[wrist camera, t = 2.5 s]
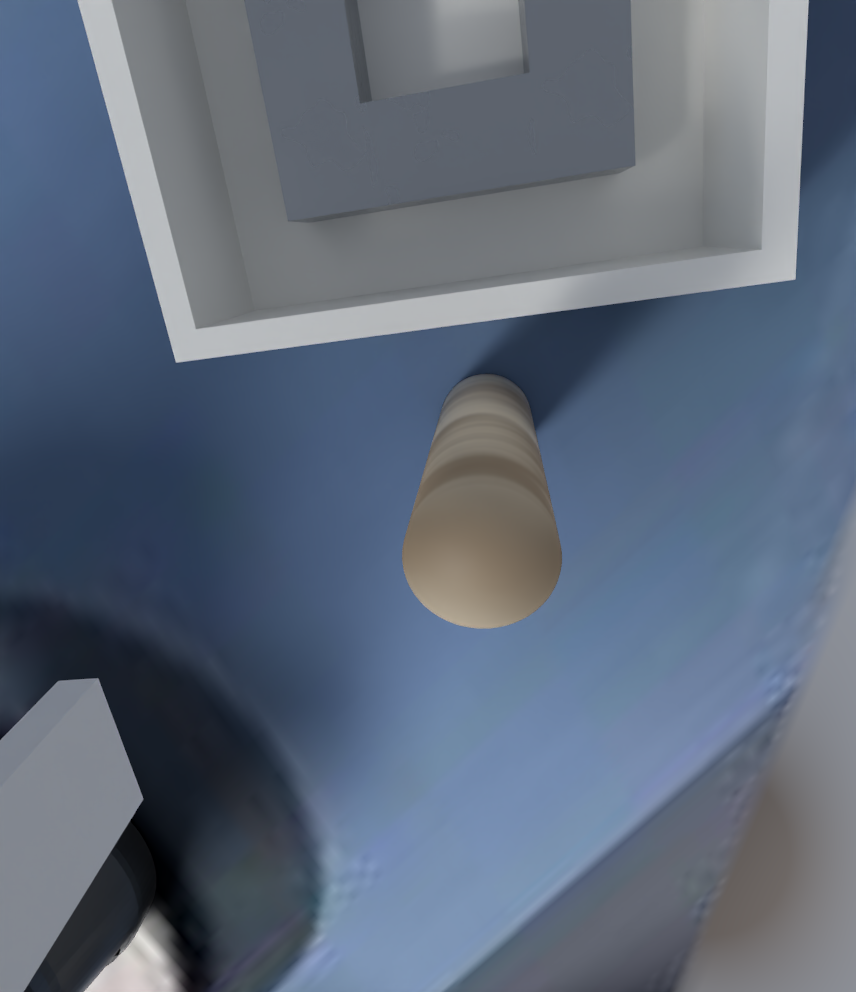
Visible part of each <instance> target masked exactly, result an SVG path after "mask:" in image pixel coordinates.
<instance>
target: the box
mask: <svg viewBox="0 0 856 992" xmlns="http://www.w3.org/2000/svg"><path fill="white" fill-rule="evenodd" d="M78 3H79V7H80V11H81V15H82V18H83V22H84V26H85V29H86V33H87V37H88V40H89V44H90V48H91V51H92V55H93V59H94V62H95V66H96V70H97V74H98V77H99V81H100V85H101V88H102V92H103V96H104V99H105V103H106V107H107V110H108V114H109V118H110V121H111V125H112V129H113V132H114V136H115V140H116V144H117V147H118V151H119V155H120V158H121V162H122V166H123V169H124V173H125V177H126V180H127V184H128V188H129V191H130V195H131V199H132V202H133V206H134V210H135V214H136V217H137V221H138V225H139V228H140V232H141V236H142V239H143V243H144V247H145V250H146V254H147V258H148V261H149V265H150V269H151V272H152V276H153V280H154V284H155V287H156V291H157V295H158V298H159V302H160V306H161V309H162V313H163V317H164V320H165V324H166V328H167V331H168V335H169V339H170V342H171V346H172V350H173V354H174V357H175V361H176V363H178V362H185V361H193V360H200V359H208V358H215V357H223V356H230V355H237V354H245V353H252V352H260V351H267V350H275V349H282V348H289V347H297V346H304V345H312V344H319V343H327V342H334V341H342V340H349V339H356V338H364V337H371V336H379V335H386V334H394V333H401V332H409V331H416V330H423V329H431V328H438V327H446V326H453V325H461V324H468V323H476V322H483V321H490V320H498V319H505V318H513V317H520V316H528V315H535V314H542V313H550V312H557V311H565V310H572V309H580V308H587V307H595V306H602V305H609V304H617V303H624V302H632V301H639V300H647V299H654V298H662V297H669V296H676V295H684V294H691V293H699V292H706V291H714V290H721V289H729V288H736V287H743V286H751V285H758V284H766V283H773V282H781V281H788V280H795V278H796V257H797V236H798V215H799V194H800V173H801V152H802V131H803V110H804V89H805V68H806V47H807V26H808V5H809V0H631V33H632V67H633V100H634V133H635V166H634V167H632V168H629V169H627V170H625V171H623V172H621V173H618V174H612V175H606V176H599V177H593V178H587V179H581V180H574V181H568V182H562V183H556V184H549V185H543V186H537V187H530V188H524V189H518V190H512V191H505V192H499V193H493V194H487V195H480V196H474V197H468V198H461V199H455V200H449V201H443V202H436V203H430V204H424V205H418V206H411V207H405V208H399V209H392V210H386V211H380V212H374V213H367V214H361V215H355V216H349V217H342V218H336V219H330V220H323V221H317V222H311V223H306V222H291V221H288V219H287V214H286V209H285V204H284V198H283V193H282V188H281V183H280V178H279V173H278V168H277V163H276V158H275V153H274V148H273V143H272V138H271V133H270V128H269V123H268V118H267V113H266V108H265V103H264V98H263V93H262V88H261V83H260V78H259V73H258V68H257V63H256V58H255V53H254V48H253V43H252V37H251V32H250V27H249V22H248V17H247V12H246V7H245V2H244V0H78ZM357 3H358V10H359V17H360V24H361V30H362V37H363V44H364V50H365V57H366V64H367V70H368V77H369V84H370V90H371V97H372V101H376V100H381V99H387V98H392V97H398V96H403V95H409V94H414V93H420V92H425V91H431V90H436V89H442V88H447V87H453V86H458V85H464V84H469V83H475V82H480V81H486V80H491V79H497V78H502V77H508V76H513V75H519V74H524V67H523V54H522V42H521V29H520V16H519V4H518V0H357Z"/></svg>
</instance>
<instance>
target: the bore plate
mask: <svg viewBox="0 0 856 992" xmlns="http://www.w3.org/2000/svg"><path fill="white" fill-rule="evenodd" d="M244 2H245V7H246V12H247V17H248V22H249V27H250V32H251V37H252V43H253V48H254V53H255V58H256V63H257V68H258V73H259V78H260V83H261V88H262V93H263V98H264V103H265V108H266V113H267V118H268V123H269V128H270V133H271V138H272V143H273V148H274V153H275V158H276V163H277V168H278V173H279V178H280V183H281V188H282V193H283V198H284V204H285V209H286V214H287V219H288V221H291V222H306V223H311V222H317V221H323V220H330V219H336V218H342V217H349V216H355V215H361V214H367V213H374V212H380V211H386V210H392V209H399V208H405V207H411V206H418V205H424V204H430V203H436V202H443V201H449V200H455V199H461V198H468V197H474V196H480V195H487V194H493V193H499V192H505V191H512V190H518V189H524V188H530V187H537V186H543V185H549V184H556V183H562V182H568V181H574V180H581V179H587V178H593V177H599V176H606V175H612V174H618V173H621V172H623V171H625V170H627V169H629V168H632V167H634V166H635V133H634V100H633V67H632V33H631V0H518V4H519V16H520V29H521V42H522V54H523V67H524V74H519V75H513V76H508V77H502V78H497V79H491V80H486V81H480V82H475V83H469V84H464V85H458V86H453V87H447V88H442V89H436V90H431V91H425V92H420V93H414V94H409V95H403V96H398V97H392V98H387V99H381V100H376V101H372V97H371V90H370V84H369V77H368V70H367V64H366V57H365V50H364V44H363V37H362V30H361V24H360V17H359V10H358V3H357V0H244Z"/></svg>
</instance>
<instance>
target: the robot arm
mask: <svg viewBox="0 0 856 992" xmlns="http://www.w3.org/2000/svg"><path fill="white" fill-rule="evenodd" d="M142 801H143V796H142V794H141V791H140V788H139V786H138V783H137V780H136V778H135V775H134V772H133V770H132V767H131V764H130V762H129V759H128V756H127V754H126V751H125V748H124V746H123V743H122V740H121V738H120V735H119V732H118V730H117V727H116V724H115V722H114V719H113V716H112V714H111V711H110V708H109V706H108V703H107V700H106V698H105V695H104V692H103V690H102V687H101V684H100V682H99V679H98V678H93V679H78V680H63V681H58V682H57V683H56V684H55V685H54V686H53V687H52V688H51V689H50V690H49V691H48V692H47V693H46V694H45V695H44V696H43V697H42V698H41V699H40V700H39V701H38V702H37V703H36V704H35V705H34V706H33V707H32V708H31V709H30V710H29V711H28V712H27V714H26V715H25V716H24V717H23V718H22V719H21V720H20V721H19V722H18V723H17V724H16V725H15V726H14V727H13V728H12V729H11V730H10V731H9V732H8V733H7V734H6V735H5V736H4V737H3V738H2V739H1V740H0V992H84V991H85V990H86V989H87V988H88V986H89V985H90V984H91V983H92V982H93V981H94V979H95V978H96V977H97V976H98V975H99V974H100V972H101V971H102V970H103V969H104V968H105V966H107V965H109V964H110V963H111V962H113V961H114V960H115V959H116V958H117V957H118V956H119V955H120V954H121V953H122V952H123V951H124V950H125V949H126V948H127V947H128V945H129V944H130V942H131V941H132V940H133V938H134V937H135V935H136V933H137V931H138V929H139V927H140V926H141V924H142V922H143V920H144V918H145V916H146V914H147V912H148V910H149V908H150V906H151V904H152V901H153V899H154V896H155V891H156V870H155V865H154V861H153V858H152V855H151V853H150V850H149V848H148V846H147V844H146V842H145V841H144V839H143V837H142V836H141V834H140V833H139V831H138V830H137V829H136V827H135V826H134V825H133V824H132V823H131V821H130V820H131V818H132V817H133V815H134V814H135V812H136V810H137V809H138V807H139V805H140V804H141V802H142Z"/></svg>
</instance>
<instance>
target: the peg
mask: <svg viewBox="0 0 856 992" xmlns="http://www.w3.org/2000/svg"><path fill="white" fill-rule="evenodd" d="M402 561H403V568H404V573H405V576H406V579H407V581H408V584H409V586H410V588H411V589H412V591H413V593H414V594H415V595H416V597H417V598H418V599H419V601H420V602H421V603H422V604H423V605H424V606H425V607H426V608H428V609H429V610H430V611H431V612H433V613H434V614H436V615H437V616H439V617H441V618H442V619H444V620H447V621H449V622H451V623H454V624H457V625H460V626H465V627H470V628H496V627H502V626H506V625H510V624H512V623H515V622H518V621H520V620H522V619H524V618H526V617H527V616H529V615H530V614H532V613H533V612H535V611H536V610H537V609H538V608H539V607H540V606H541V605H543V603H544V602H545V601H546V600H547V599H548V598H549V596H550V595H551V593H552V591H553V590H554V588H555V586H556V584H557V581H558V578H559V575H560V571H561V564H562V551H561V545H560V540H559V536H558V531H557V527H556V522H555V518H554V513H553V509H552V504H551V500H550V495H549V491H548V486H547V482H546V477H545V473H544V468H543V464H542V459H541V455H540V450H539V446H538V441H537V436H536V432H535V427H534V423H533V418H532V414H531V409H530V406H529V402H528V400H527V398H526V396H525V394H524V393H523V391H522V390H521V389H520V388H519V387H518V386H517V385H516V384H515V383H513V382H512V381H510V380H509V379H507V378H505V377H502V376H499V375H494V374H478V375H474V376H471V377H468V378H466V379H464V380H462V381H461V382H459V383H458V384H457V385H456V386H454V387H453V389H452V390H451V391H450V392H449V394H448V395H447V397H446V399H445V401H444V403H443V406H442V410H441V413H440V417H439V420H438V424H437V427H436V431H435V434H434V438H433V441H432V445H431V448H430V452H429V455H428V459H427V462H426V466H425V469H424V473H423V476H422V480H421V483H420V486H419V490H418V493H417V497H416V500H415V504H414V507H413V511H412V514H411V518H410V521H409V525H408V528H407V532H406V535H405V539H404V544H403V551H402Z"/></svg>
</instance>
